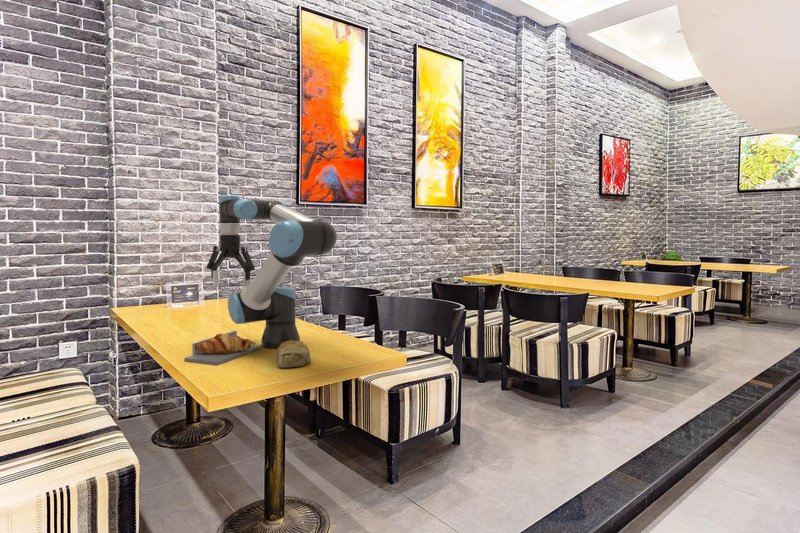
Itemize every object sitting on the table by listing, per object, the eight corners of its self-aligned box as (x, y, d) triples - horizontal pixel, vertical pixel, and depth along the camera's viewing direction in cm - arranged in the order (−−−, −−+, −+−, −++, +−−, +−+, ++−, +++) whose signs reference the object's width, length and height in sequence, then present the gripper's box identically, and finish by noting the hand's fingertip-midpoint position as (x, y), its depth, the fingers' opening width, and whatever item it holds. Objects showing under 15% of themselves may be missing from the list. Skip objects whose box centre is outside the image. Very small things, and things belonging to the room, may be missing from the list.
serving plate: (259, 349, 190) (259, 345, 190) (217, 365, 167) (217, 361, 167) (229, 346, 194) (229, 343, 194) (184, 361, 172) (184, 358, 172)
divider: (236, 340, 204) (236, 330, 204) (195, 354, 181) (194, 343, 181) (234, 340, 204) (234, 330, 204) (192, 354, 182) (192, 343, 182)
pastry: (295, 356, 180) (295, 335, 179) (320, 362, 172) (319, 339, 172) (264, 365, 168) (263, 342, 168) (289, 371, 161) (288, 347, 160)
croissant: (254, 355, 188) (252, 335, 191) (258, 348, 180) (256, 327, 183) (194, 360, 179) (193, 339, 182) (195, 353, 171) (194, 331, 174)
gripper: (263, 234, 196) (263, 287, 198) (208, 233, 203) (209, 284, 204) (253, 234, 189) (253, 289, 191) (196, 233, 195) (197, 287, 197)
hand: (230, 287), depth 198 cm, fingers open, 13 cm apart
